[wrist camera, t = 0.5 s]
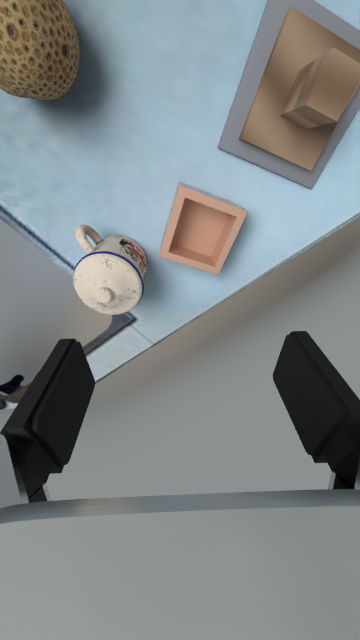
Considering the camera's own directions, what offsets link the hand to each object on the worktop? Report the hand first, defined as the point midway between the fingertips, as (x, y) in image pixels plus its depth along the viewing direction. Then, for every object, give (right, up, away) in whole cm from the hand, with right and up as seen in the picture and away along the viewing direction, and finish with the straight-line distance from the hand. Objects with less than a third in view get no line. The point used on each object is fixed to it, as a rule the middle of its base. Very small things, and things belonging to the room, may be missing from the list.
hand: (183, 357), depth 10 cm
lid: (+13, +26, +15) cm, 33 cm away
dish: (+2, +16, +23) cm, 28 cm away
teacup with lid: (-10, +12, +25) cm, 30 cm away
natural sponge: (-14, +30, +13) cm, 35 cm away
